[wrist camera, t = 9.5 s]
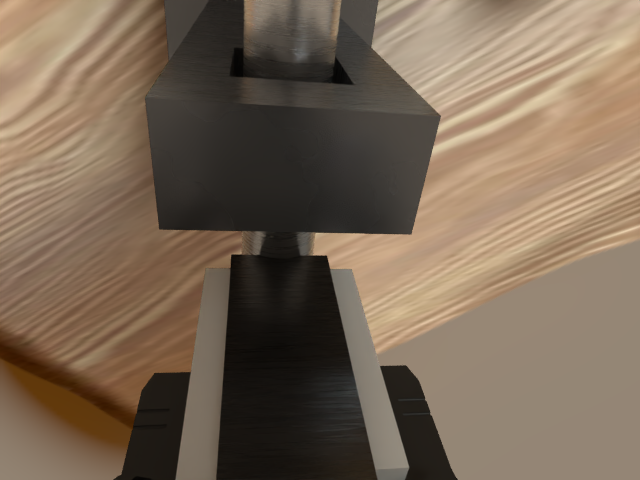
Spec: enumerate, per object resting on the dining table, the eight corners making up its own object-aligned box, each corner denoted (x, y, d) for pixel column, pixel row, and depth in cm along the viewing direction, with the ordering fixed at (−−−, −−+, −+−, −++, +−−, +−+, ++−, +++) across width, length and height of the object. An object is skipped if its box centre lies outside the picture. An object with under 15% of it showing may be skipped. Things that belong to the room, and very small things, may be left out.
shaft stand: (149, -277, 17) (-250, -1077, 4) (404, -230, 19) (806, -662, 5) (181, 164, 27) (106, 401, 13) (346, 171, 29) (431, 389, 15)
